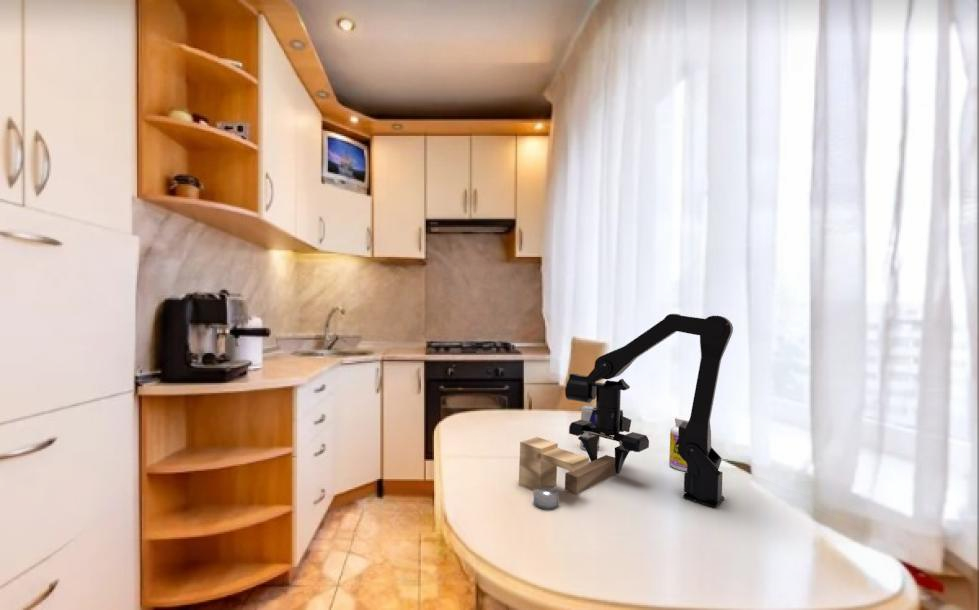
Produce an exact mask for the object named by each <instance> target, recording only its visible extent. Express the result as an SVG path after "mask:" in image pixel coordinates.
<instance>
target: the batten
mask: <svg viewBox="0 0 979 610" xmlns="http://www.w3.org/2000/svg"><path fill="white" fill-rule="evenodd" d="M564 474H565V476H564V491H566V492H568V493H571V494H575V495H578V494H580V493H582V492H584V491H586V490H588V489H590V488H591V487H594V486H596V485H598V484H599V483H601V482H604V481H605V480H607V479H610V477H612V476H614V475H617V474H616V470H615V456H611V455H608V454H605V455H603V456H601V457H597V459H596V460H594V461H591V460H590V461H589V463H588V465H586V466H584V467H582V468H580V469H577V470H575V471H573V472H572V471H569V470H568V471H566V472H565V473H564Z"/></svg>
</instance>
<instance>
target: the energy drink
mask: <svg viewBox="0 0 979 610" xmlns="http://www.w3.org/2000/svg"><path fill="white" fill-rule="evenodd" d="M594 409H596V405H589V404H584V405H582V407H581V411H580V413H581V414H580V420H584V421H589V422H592V423H593V424H594V426H595V423H596V415H595V414H593V410H594ZM600 438H601V437H599V440H598V443H597V452H599V450H600V441H601V439H600ZM579 442H580V445H579V446H580V448H581V450H583V451H586V449H585V447H584V445H583V443H582V441H581V440H579Z"/></svg>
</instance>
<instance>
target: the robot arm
mask: <svg viewBox="0 0 979 610" xmlns="http://www.w3.org/2000/svg"><path fill="white" fill-rule="evenodd" d="M676 332H678V333H684V334H691V335H696V336H699V347H700V355H701V356H700V362H699V368H698V374H697V378H696V383H695V390H694V393H693V394H694V395H693V400H692V406H691V411H690V416H689V417H690V420H689V422H688V423H687V422H685V421H683V422H682V424H681V425H680V426H679V430H678V432H679V436H678V440H677V442H676V443H675V445H679V446H678V452H679V455H680V456H681V457H682V459H683V460H684V461H686V463H687V466H688V467H687V471H685V472H684V477H683V478H684V479H683V492H684V494H683V495H682V496H683V497H682V498H685V499H687V500H690V501H693V502H696V503H699V504H702V505H705V506H708V507H711V508H715V509H716V508H717V507H718V506H720V504H721V503H722V502H723V501H725V496H724V495H723V471H720V466H721V464H722V460H723V459H722V457H721V456H720V455H719V453H718V452H717V451H716V450H715V449H714V448H713V447H712V429H711V415H712V411H713V406H714V401H715V394H716V390H717V389H716V388H717V385H718V380H719V379H718V378H719V375H720V374H719V373H720V368H721V363H722V359H723V356H724V354H725V352H726V349H727V347H728V345H729V342H730V340H731V338H732V336H733V332H734V327H733V323H732V322H731V321H730V320H729V319H728V318H726V317H725V316H722V315H710V316H708V317H706V318H701V317H695V316H687V315H681V314H679V313H669V314H667V315H666V316H665V317H664V318H663V319H661V321H660V320H659V322H657V323H656V324H654V325H653V326H652V327H650V328H648V329H647V330H646V331H644V332H643V333H642V334H640V335H638V336H637V337H636V338H634V339H633V340H631V341H630V342H628V343H627V344H625V345H624V346H621V347H619V348H617V349H615V350H612V351H609V352H607V353H605V354H603V355H601V356H599V357H597V358H596V359H595V361H594V368H592V370H591V372H589V374H588V375H583V374H578V373H569V376H568V377H569V378H568V380H567V382H566V386H565V389H564V393H565V398H566V399H567V400H568V401H575V402H580V403H586V404H590V403H592V401H593V400H595V406H596V409H594V410H593V414H595V415H596V423H595V426H594V424H593V423H592V422H589V421H584V420H581V419H579V420H575V421H572V422H571V423H570V424H569V426H568V427H569V428H568V434H570V435H573V436H576V437H577V438H578V440H579V441H580V440H581V441H582V443H583V445H584V447H585V449H586V450H585V451H586V453H587V456H588V457H589V460H590V462H591V461H594V460H596V459H598V451H597V443H598V440H599V437H600V438H603V439H607V440H611V441H613V442H614V441H615V442H618V443H619V445H618V446H615V447H614V457H615V470H616V474H615V475H619V474H620V473H621V472H622V471H621V470H622V468H623V465H624V463H625V461H626V459H627V457H628V455H629V453H630V452H635V453H640V452H642V451H644V450H646V449H648V448H650V440H649V437H648V435H646V434H643V433H642V434H641V433H637V432H630V430H631V425H632V419H630V418H628V417H625V416H624V410H623V409H621V395H622V394H621V391H627V390H629V389H630V388H631V387H630V385H629V384H628V383H627V382H626V380H624V378H620V379H619V380H618V381H617V380H615V381H614V380H611V379H613V378H616V377H619V376H621V375H622V374H624V372H625V371H626V370H627V369H628V368H629V367H630V366H631V365H632V363H634V361H635V360H636V359H638V358H639V357H640V356H642V355H643V354H645V353H647V352H648V351H650V350H651V349H652V348H655V346H657V345H658V344H660V343H661V342H663V341H665V340H666V339H668V338H669V337H671V336H672V335H674V334H675V333H676ZM602 380H605V382H604V383H602V382H599V381H602ZM623 432H626V433H627V434H624V433H623ZM599 441H600V440H599Z"/></svg>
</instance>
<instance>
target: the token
mask: <svg viewBox="0 0 979 610" xmlns="http://www.w3.org/2000/svg"><path fill="white" fill-rule="evenodd" d="M559 500H560V490H559V488H557V487H556V486H555V487H553V486H549V485H539V486H536V487H535V488H534V491H533V505H535V508H537V509H538V510H541V511H554V510H557V509H558V508H559V502H560V501H559Z"/></svg>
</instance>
